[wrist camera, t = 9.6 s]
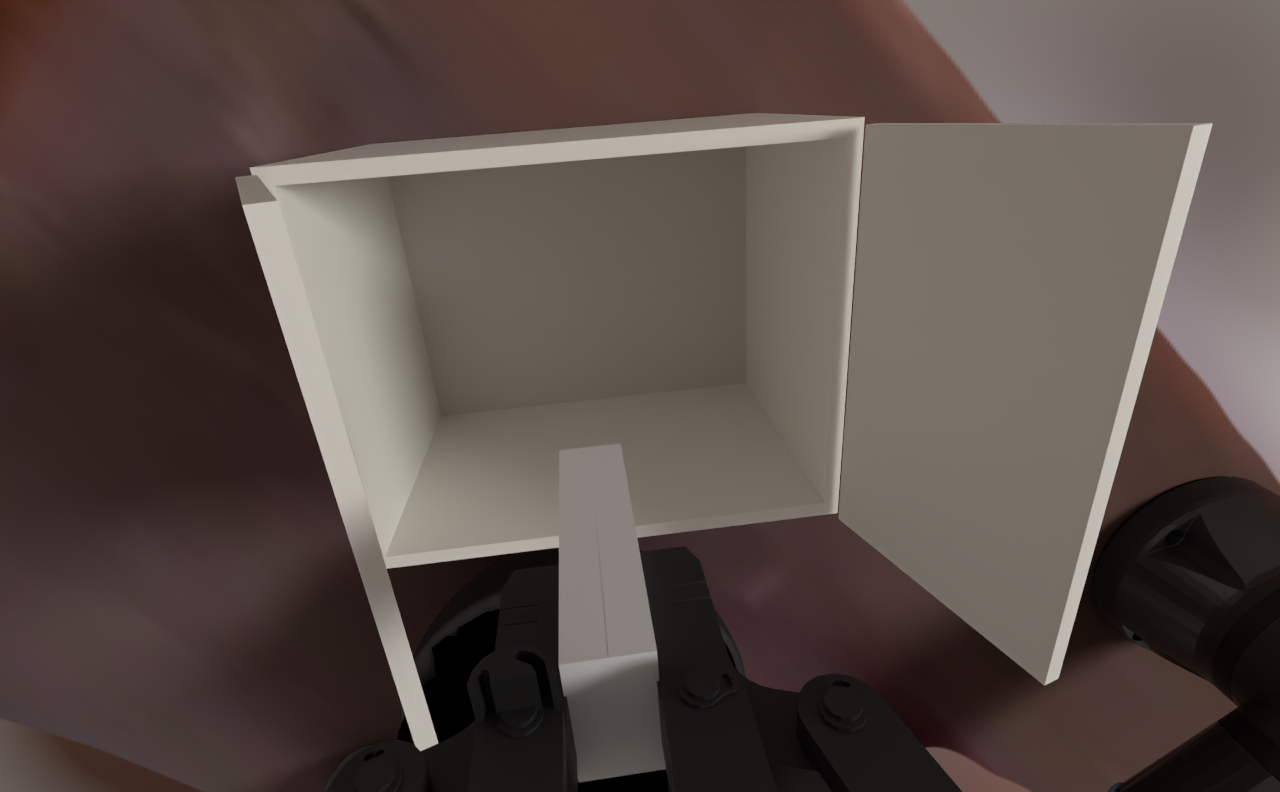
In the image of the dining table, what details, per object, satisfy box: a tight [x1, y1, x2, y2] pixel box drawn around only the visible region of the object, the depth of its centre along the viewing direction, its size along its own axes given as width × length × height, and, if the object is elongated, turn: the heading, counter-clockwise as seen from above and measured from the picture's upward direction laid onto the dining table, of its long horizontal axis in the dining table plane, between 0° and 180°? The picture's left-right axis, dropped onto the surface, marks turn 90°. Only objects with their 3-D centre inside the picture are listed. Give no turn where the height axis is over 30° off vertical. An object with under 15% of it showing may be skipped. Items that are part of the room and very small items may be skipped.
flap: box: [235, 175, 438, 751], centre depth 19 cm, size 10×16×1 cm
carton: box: [250, 113, 865, 569], centre depth 31 cm, size 20×16×14 cm
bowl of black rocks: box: [397, 547, 745, 792], centre depth 38 cm, size 20×20×19 cm
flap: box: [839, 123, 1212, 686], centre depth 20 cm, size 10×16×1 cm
